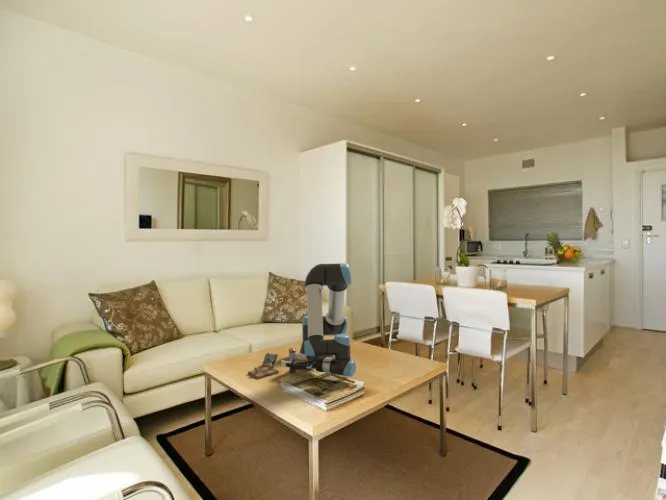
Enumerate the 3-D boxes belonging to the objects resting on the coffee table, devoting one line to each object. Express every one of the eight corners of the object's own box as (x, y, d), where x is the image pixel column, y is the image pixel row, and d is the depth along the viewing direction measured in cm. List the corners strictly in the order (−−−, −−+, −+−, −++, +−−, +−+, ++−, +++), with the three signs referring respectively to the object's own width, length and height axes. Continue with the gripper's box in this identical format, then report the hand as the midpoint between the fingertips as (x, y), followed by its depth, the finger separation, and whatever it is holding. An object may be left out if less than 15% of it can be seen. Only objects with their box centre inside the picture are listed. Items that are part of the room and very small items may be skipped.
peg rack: (268, 368, 201) (267, 361, 201) (278, 373, 194) (278, 365, 193) (248, 374, 193) (247, 366, 193) (258, 379, 185) (258, 371, 185)
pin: (293, 370, 197) (292, 347, 197) (297, 372, 195) (297, 349, 194) (287, 372, 195) (287, 349, 194) (291, 373, 192) (291, 350, 192)
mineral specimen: (265, 374, 206) (283, 369, 206) (260, 368, 200) (278, 363, 200) (264, 358, 212) (281, 353, 212) (259, 352, 206) (276, 347, 206)
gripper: (312, 380, 174) (275, 374, 184) (336, 364, 196) (302, 359, 206) (312, 364, 174) (274, 359, 184) (336, 350, 196) (301, 346, 206)
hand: (289, 359), depth 195 cm, fingers open, 13 cm apart
